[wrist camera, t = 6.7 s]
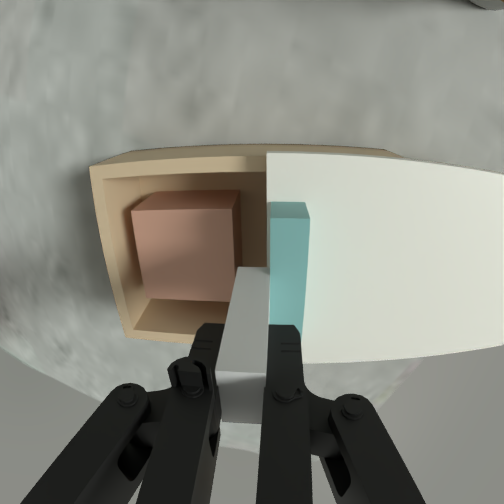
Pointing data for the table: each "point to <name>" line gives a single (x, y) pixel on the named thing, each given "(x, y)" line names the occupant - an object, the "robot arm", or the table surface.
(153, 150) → the box
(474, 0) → the coffee cup
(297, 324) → the lid
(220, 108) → the table surface
